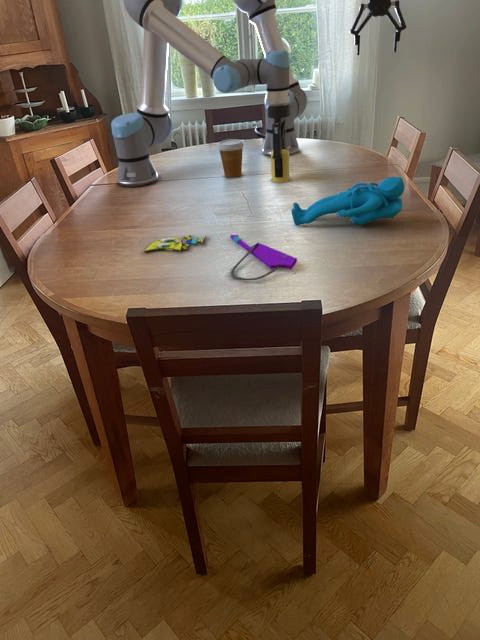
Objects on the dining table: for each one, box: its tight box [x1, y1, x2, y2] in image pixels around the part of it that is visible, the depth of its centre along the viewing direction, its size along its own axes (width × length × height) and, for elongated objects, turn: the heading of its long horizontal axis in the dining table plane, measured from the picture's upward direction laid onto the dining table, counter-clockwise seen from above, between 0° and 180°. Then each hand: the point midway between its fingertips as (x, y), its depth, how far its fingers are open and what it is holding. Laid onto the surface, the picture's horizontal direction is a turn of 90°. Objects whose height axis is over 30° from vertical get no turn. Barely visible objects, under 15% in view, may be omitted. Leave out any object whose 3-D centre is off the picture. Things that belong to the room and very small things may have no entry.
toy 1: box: [144, 234, 207, 254], centre depth 130 cm, size 10×1×15 cm
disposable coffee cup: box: [217, 138, 245, 178], centre depth 178 cm, size 10×10×12 cm
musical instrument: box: [229, 234, 298, 281], centre depth 118 cm, size 24×2×20 cm
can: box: [270, 149, 290, 184], centre depth 169 cm, size 6×6×10 cm
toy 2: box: [290, 176, 405, 227], centre depth 131 cm, size 17×11×30 cm
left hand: (280, 174), depth 171 cm, fingers closed on can, 6 cm apart
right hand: (376, 53), depth 183 cm, fingers open, 13 cm apart
